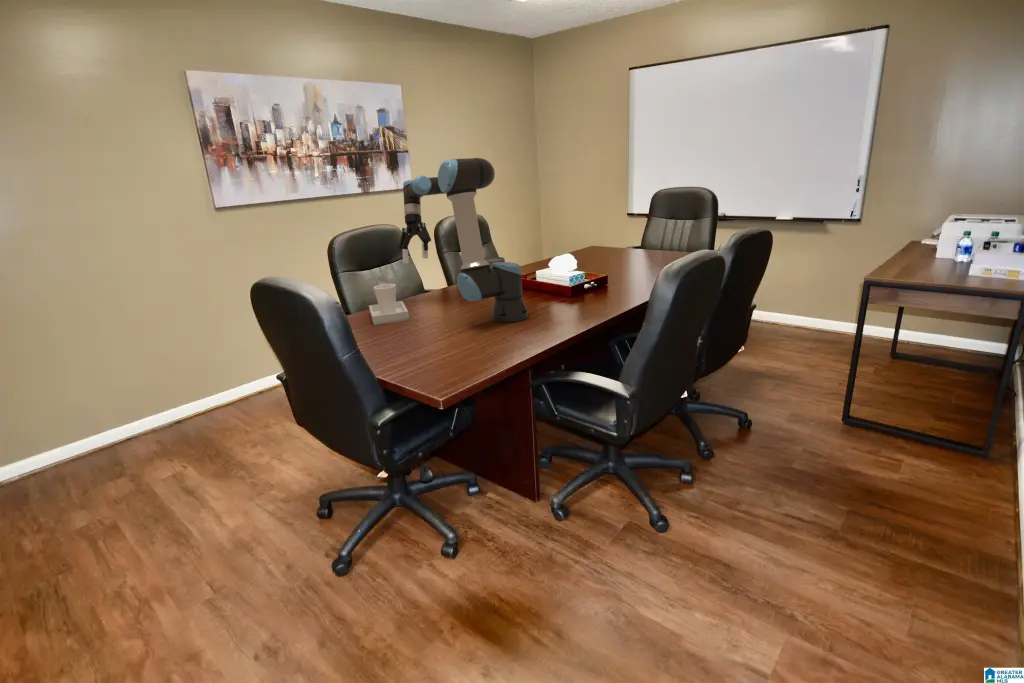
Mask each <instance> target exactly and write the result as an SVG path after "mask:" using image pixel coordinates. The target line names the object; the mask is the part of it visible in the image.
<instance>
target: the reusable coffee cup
mask: <svg viewBox="0 0 1024 683" xmlns="http://www.w3.org/2000/svg"><path fill="white" fill-rule="evenodd" d="M484 259H485V261H486V262H488V263H489V265H490V268H492V263H495V262H506V261H505V257H502V256H500V257H499V256H492V257H484Z"/></svg>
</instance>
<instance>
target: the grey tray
mask: <svg viewBox="0 0 1024 683" xmlns="http://www.w3.org/2000/svg"><path fill="white" fill-rule="evenodd" d="M368 308H369V309H368V310H369V315H370V316H371V317H370V318H371V321H372V323H373V326H381V325H386V324H387V325H388V324H394V323H399V322H400V323H401V322H406V321H407V322H408V321H410V315H409V311H408V308H407V307H406V305H405V303H404V301H402V300H400V301H396V313H389V314H382V315H381V312H380V308H379V305H378V303H377V304H371V305H368Z"/></svg>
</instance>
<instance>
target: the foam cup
mask: <svg viewBox="0 0 1024 683" xmlns="http://www.w3.org/2000/svg"><path fill="white" fill-rule="evenodd" d="M373 292H374V294H375V297H376V301H377V304H378V305H379V308H380V312H381V315H382V314H389V313H396V302H397V286H396V284H394V283H381V284H378V285H374V286H373Z"/></svg>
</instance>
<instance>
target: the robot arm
mask: <svg viewBox="0 0 1024 683" xmlns="http://www.w3.org/2000/svg"><path fill="white" fill-rule="evenodd" d="M495 174H496V173H495V168H494V167H493V165H492V163H491V162H489V161H488V160H487V159H485V158H482V157H473V158H472V157H471V158H468V157H467V158H453V159H447V160H444V161H443V162H442V163H441V164H440V166H439V168H438V173H437V177H435V176H434V177H427V176H426V175H419V176H417V177H416V178H414V179H408V180H405V181H404V182H403V184H402V185H403V186H402V191H403V194H402V195H403V208H404V210H403V211H404V213H403V214H404V224H406V227H402V228H401V236H400V240H399V243H398V244H399V245H398V249H399V250H401V257H402V263H403V264H405V265H406V264H409V248H408V247H409V245H410V243H411V241H412V240H411V239H412V238H413V237H415V236H417V237H418V238H419V239H420V241H421V254H422V255H421V257H422V259H426V260H427V259H429V252H428V251H429V242H432V238H431V236H430V233H429V231H428V229H427V225H426V223H425V222H422V206H421V205H422V204H421V198H422V197H424V196H433V195H434V196H435V195H442V194H443V195H446V199H448V200H449V201H451V205H452V210H453V216H454V222H455V227H456V230H457V232H456V233H457V237H458V241H459V242H458V243H459V248H460V252H461V253H460V254H461V260H462V264H461V267H460V273H458V275H457V276H456V285H457V288H458V292H459V293H460V295H461V296H462V297H463V299H464V300H466V301H468V302H476V301H477V302H479V301H481V300H486V299H489V298H494V303H493V305H492V306H493V307H492V310H491V319H492V321H494V322H497V323H516V322H521V321H524V320H526V319H527V318H528V317H529V314H528V309H527V306H526V304H525V301H524V299H523V298H524V297H523V285H522V284H523V282H522V280H523V279H522V269H521V266H520V265H519V264H518V263H515V262H509V261H505V262H495V263H492V268H490V265H489V263H488V262H486V261H485V259H484V258H485V253H484V249H483V242H482V238H481V233H480V227H479V221H478V216H477V209H476V203H475V197H476V196H477V190H480V189H481V190H482V189H485V188H487V187H489V186H491V184H492V183H493V181H494V179H495V177H496V176H495Z"/></svg>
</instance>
